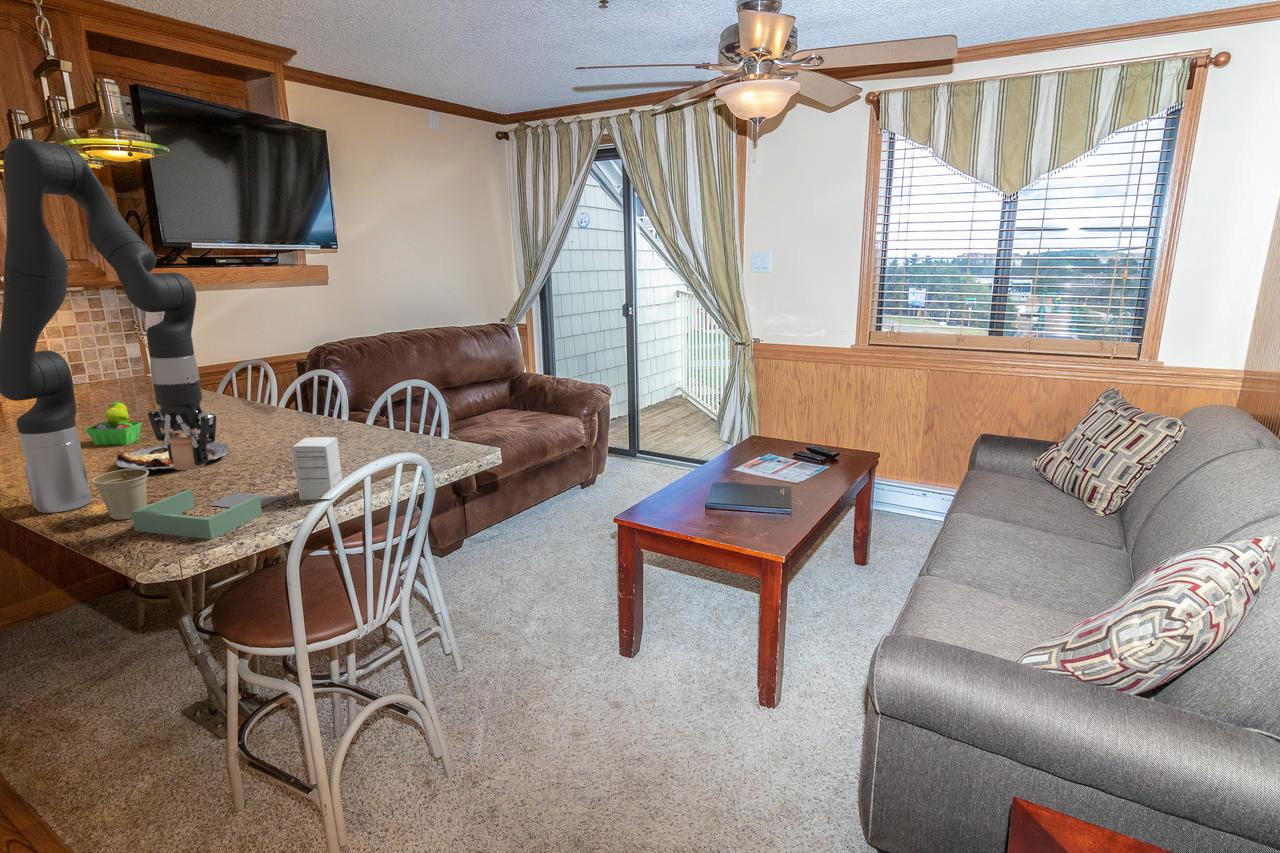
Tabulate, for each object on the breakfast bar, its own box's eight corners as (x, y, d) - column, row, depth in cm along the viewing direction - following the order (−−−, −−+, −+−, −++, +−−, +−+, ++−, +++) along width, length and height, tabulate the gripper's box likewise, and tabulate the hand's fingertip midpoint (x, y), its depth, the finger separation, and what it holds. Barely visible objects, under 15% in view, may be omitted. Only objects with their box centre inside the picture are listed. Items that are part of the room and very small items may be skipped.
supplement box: (311, 489, 157) (304, 436, 154) (344, 488, 157) (338, 436, 154) (298, 500, 150) (291, 445, 147) (332, 500, 150) (326, 445, 147)
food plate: (133, 482, 161) (131, 467, 160) (101, 464, 174) (99, 451, 174) (245, 460, 180) (243, 447, 179) (208, 446, 194) (206, 434, 193)
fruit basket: (86, 446, 190) (78, 407, 187) (109, 438, 198) (101, 400, 196) (128, 446, 190) (120, 407, 187) (149, 438, 199) (142, 400, 196)
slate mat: (208, 505, 146) (207, 505, 146) (237, 493, 154) (236, 492, 154) (255, 510, 144) (255, 509, 144) (282, 497, 151) (282, 497, 151)
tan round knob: (164, 469, 132) (160, 439, 131) (189, 460, 138) (185, 432, 136) (189, 471, 131) (185, 442, 130) (214, 463, 137) (209, 434, 135)
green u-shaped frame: (134, 530, 133) (131, 511, 132) (190, 507, 146) (187, 489, 145) (211, 539, 129) (208, 520, 128) (262, 514, 142) (259, 496, 141)
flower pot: (99, 527, 135) (90, 486, 133) (100, 512, 142) (92, 473, 140) (156, 516, 140) (149, 477, 138) (155, 503, 148) (148, 465, 145)
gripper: (127, 380, 128) (142, 465, 132) (190, 384, 125) (204, 472, 129) (162, 373, 135) (175, 454, 139) (223, 377, 132) (235, 460, 136)
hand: (189, 462), depth 134 cm, fingers closed on tan round knob, 5 cm apart
